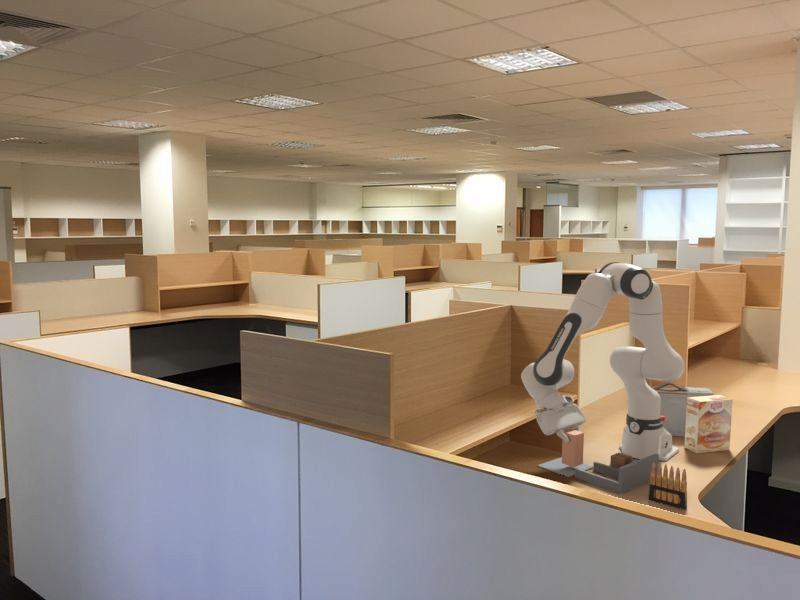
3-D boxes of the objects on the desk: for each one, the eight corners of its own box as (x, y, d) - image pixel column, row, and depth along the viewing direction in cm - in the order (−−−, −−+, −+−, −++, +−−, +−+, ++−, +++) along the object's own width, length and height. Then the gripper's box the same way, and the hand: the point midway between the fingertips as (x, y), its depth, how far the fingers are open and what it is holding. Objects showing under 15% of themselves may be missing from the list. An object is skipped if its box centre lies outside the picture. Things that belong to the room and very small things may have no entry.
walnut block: (618, 469, 225) (619, 452, 224) (631, 473, 221) (632, 456, 220) (610, 472, 222) (610, 455, 221) (623, 477, 218) (623, 459, 217)
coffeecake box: (697, 453, 240) (699, 401, 238) (683, 447, 247) (686, 396, 245) (730, 450, 245) (733, 398, 243) (716, 444, 251) (719, 394, 249)
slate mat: (562, 457, 236) (562, 456, 236) (593, 467, 226) (593, 466, 226) (537, 466, 227) (537, 465, 227) (568, 477, 217) (568, 476, 217)
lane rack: (612, 463, 230) (612, 441, 229) (657, 478, 217) (658, 454, 216) (575, 477, 217) (575, 454, 216) (621, 493, 204) (622, 468, 203)
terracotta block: (570, 460, 228) (571, 429, 227) (582, 464, 224) (583, 432, 223) (561, 463, 225) (562, 431, 223) (573, 467, 221) (574, 435, 220)
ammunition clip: (648, 500, 199) (649, 461, 198) (650, 498, 201) (652, 460, 199) (684, 509, 192) (686, 470, 191) (687, 507, 194) (688, 468, 192)
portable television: (711, 438, 258) (715, 363, 255) (647, 434, 263) (650, 360, 260) (704, 429, 270) (707, 357, 267) (643, 425, 275) (645, 355, 272)
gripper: (537, 405, 221) (560, 441, 214) (575, 396, 234) (597, 429, 227) (527, 415, 225) (549, 451, 218) (564, 406, 238) (586, 439, 231)
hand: (574, 440), depth 223 cm, fingers closed on terracotta block, 5 cm apart
